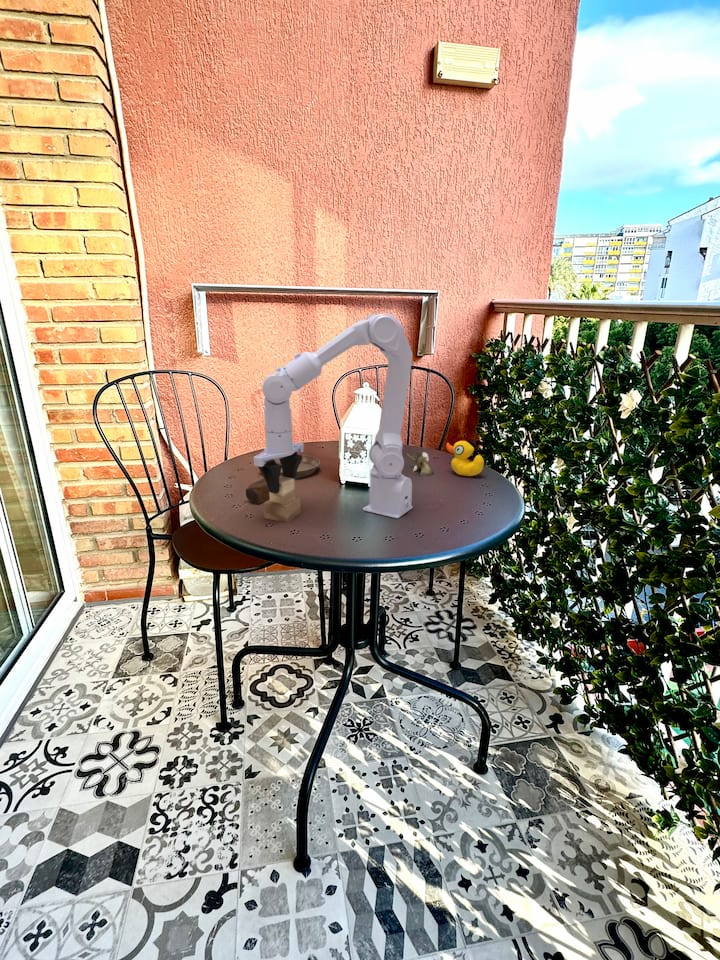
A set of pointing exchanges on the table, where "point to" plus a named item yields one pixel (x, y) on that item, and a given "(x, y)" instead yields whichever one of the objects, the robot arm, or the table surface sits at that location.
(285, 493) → the beech block
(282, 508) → the tan wooden block
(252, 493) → the brick
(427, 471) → the eagle figurine
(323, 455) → the table surface
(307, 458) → the plant saucer
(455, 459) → the duckling
